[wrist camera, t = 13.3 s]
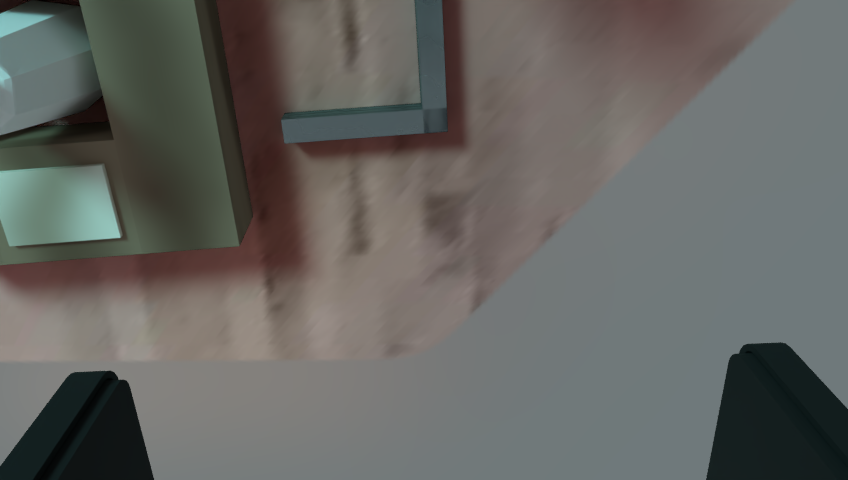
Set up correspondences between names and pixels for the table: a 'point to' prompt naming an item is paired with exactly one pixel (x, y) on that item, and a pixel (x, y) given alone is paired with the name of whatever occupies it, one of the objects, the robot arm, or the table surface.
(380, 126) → the u-shaped bracket
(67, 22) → the salt shaker
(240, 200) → the socket block
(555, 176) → the table surface
